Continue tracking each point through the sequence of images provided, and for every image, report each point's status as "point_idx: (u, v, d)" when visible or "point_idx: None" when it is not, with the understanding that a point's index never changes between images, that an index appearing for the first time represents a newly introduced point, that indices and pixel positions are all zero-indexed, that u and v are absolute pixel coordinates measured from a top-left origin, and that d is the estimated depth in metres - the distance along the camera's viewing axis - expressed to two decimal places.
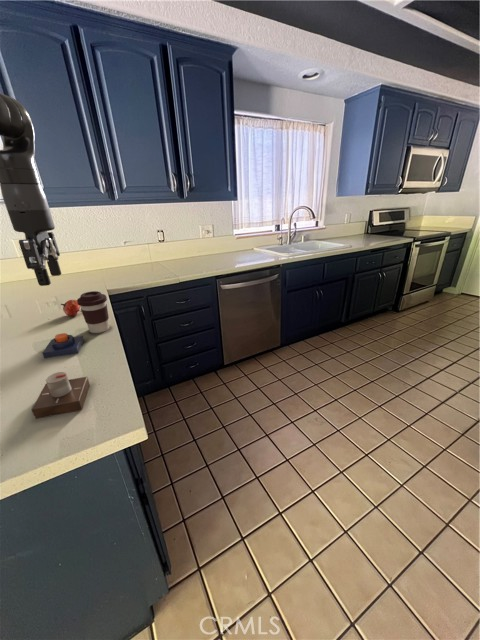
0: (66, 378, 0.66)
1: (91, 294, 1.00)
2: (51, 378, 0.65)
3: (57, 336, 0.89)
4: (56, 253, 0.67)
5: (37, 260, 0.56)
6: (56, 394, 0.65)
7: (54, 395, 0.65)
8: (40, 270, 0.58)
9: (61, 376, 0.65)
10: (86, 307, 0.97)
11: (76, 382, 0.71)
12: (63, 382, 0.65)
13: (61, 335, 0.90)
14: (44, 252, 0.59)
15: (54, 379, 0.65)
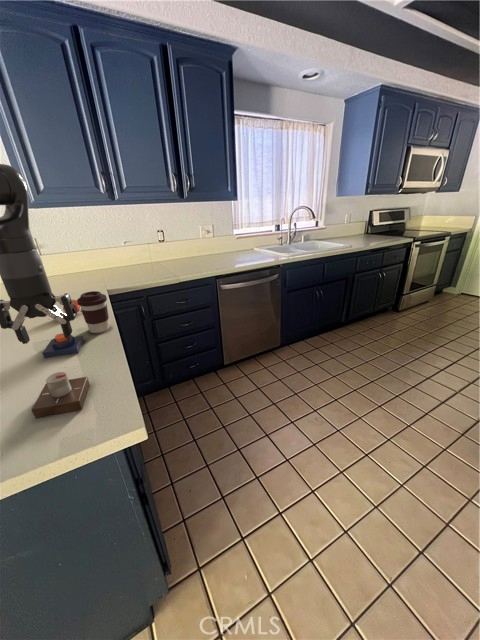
0: (66, 378, 0.66)
1: (91, 294, 1.00)
2: (51, 378, 0.65)
3: (57, 336, 0.89)
4: None
5: None
6: (56, 394, 0.65)
7: (54, 395, 0.65)
8: None
9: (61, 376, 0.65)
10: (86, 307, 0.97)
11: (76, 382, 0.71)
12: (63, 382, 0.65)
13: (61, 335, 0.90)
14: None
15: (54, 379, 0.65)
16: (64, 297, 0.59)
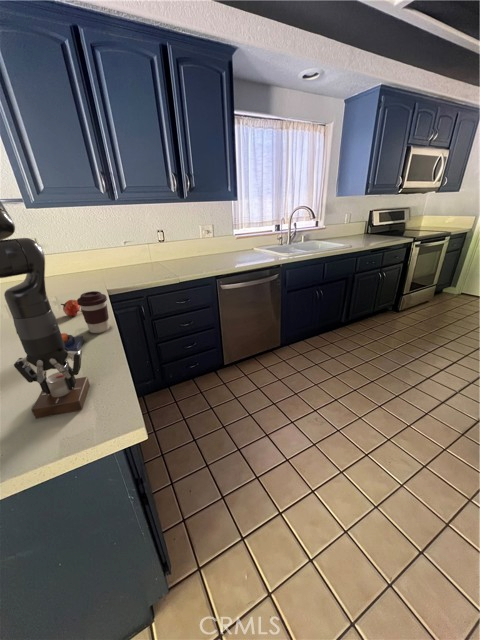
0: None
1: (91, 294, 1.00)
2: (51, 378, 0.65)
3: None
4: (73, 372, 0.65)
5: (25, 377, 0.62)
6: (56, 394, 0.65)
7: (54, 395, 0.65)
8: None
9: (61, 376, 0.65)
10: (86, 307, 0.97)
11: (76, 382, 0.71)
12: (63, 382, 0.65)
13: None
14: (37, 371, 0.62)
15: (54, 379, 0.65)
16: (77, 355, 0.64)
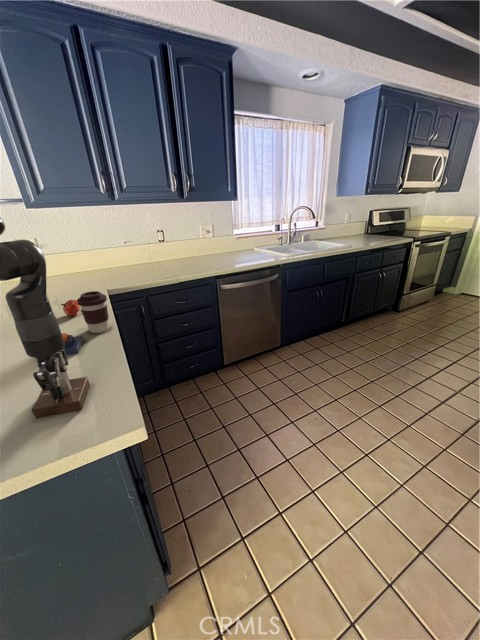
0: None
1: (91, 294, 1.00)
2: None
3: None
4: (65, 364, 0.69)
5: (52, 385, 0.60)
6: (69, 387, 0.67)
7: (69, 390, 0.67)
8: (54, 388, 0.63)
9: None
10: (86, 307, 0.97)
11: (76, 382, 0.71)
12: None
13: None
14: (56, 372, 0.62)
15: (61, 376, 0.66)
16: None
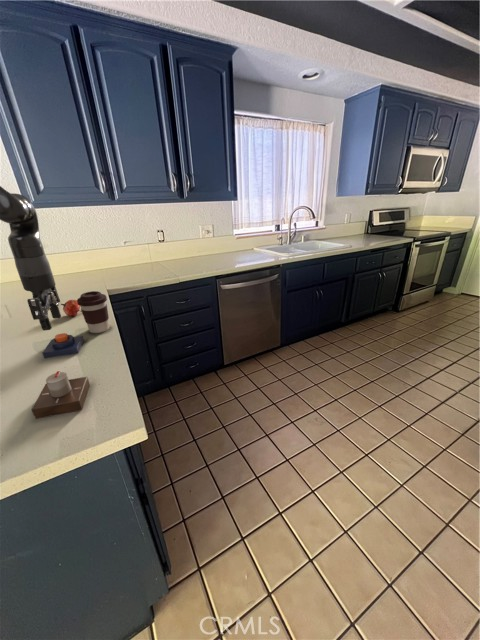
0: None
1: (91, 294, 1.00)
2: (56, 379, 0.65)
3: (57, 336, 0.89)
4: (57, 300, 0.84)
5: (41, 313, 0.73)
6: (69, 387, 0.67)
7: (69, 390, 0.67)
8: (43, 319, 0.75)
9: (58, 373, 0.67)
10: (86, 307, 0.97)
11: (76, 382, 0.71)
12: None
13: (61, 335, 0.90)
14: (47, 305, 0.76)
15: (61, 376, 0.66)
16: None
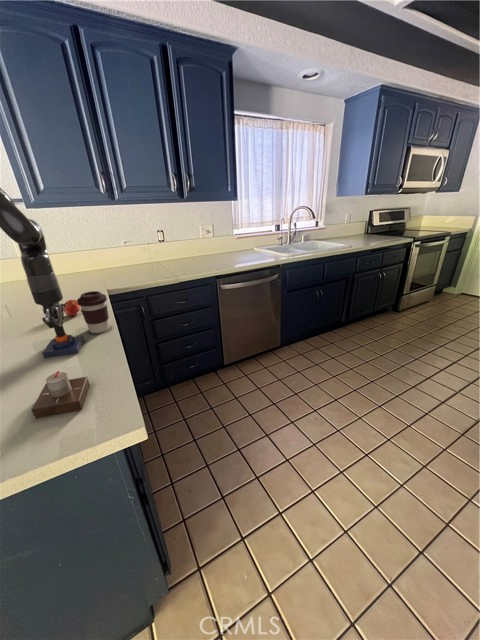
0: None
1: (91, 294, 1.00)
2: (56, 379, 0.65)
3: None
4: None
5: (56, 325, 0.84)
6: (69, 387, 0.67)
7: (69, 390, 0.67)
8: (58, 327, 0.87)
9: (58, 373, 0.67)
10: (86, 307, 0.97)
11: (76, 382, 0.71)
12: None
13: None
14: (58, 317, 0.86)
15: (61, 376, 0.66)
16: None
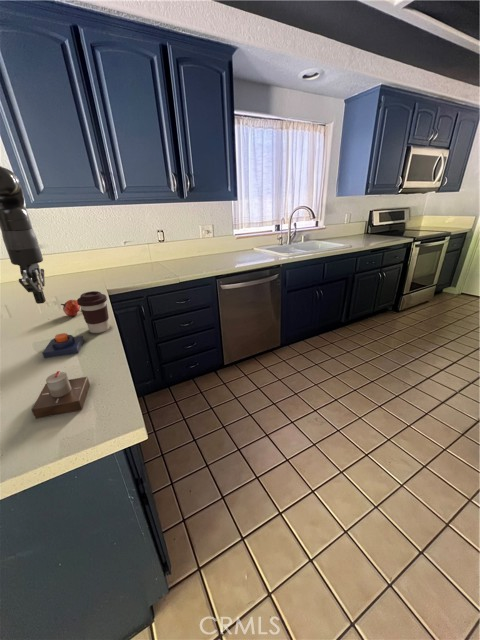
0: None
1: (91, 294, 1.00)
2: (56, 379, 0.65)
3: (57, 336, 0.89)
4: (41, 284, 0.83)
5: (35, 289, 0.78)
6: (69, 387, 0.67)
7: (69, 390, 0.67)
8: (37, 292, 0.80)
9: (58, 373, 0.67)
10: (86, 307, 0.97)
11: (76, 382, 0.71)
12: None
13: (61, 335, 0.90)
14: (37, 281, 0.79)
15: (61, 376, 0.66)
16: None
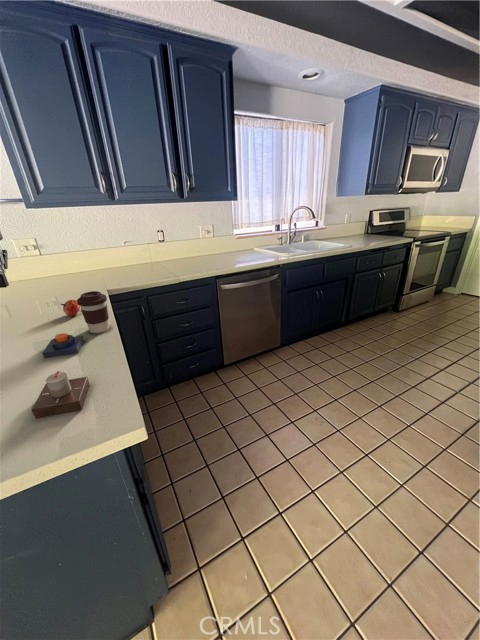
0: None
1: (91, 294, 1.00)
2: (56, 379, 0.65)
3: (57, 336, 0.89)
4: (3, 266, 0.75)
5: None
6: (69, 387, 0.67)
7: (69, 390, 0.67)
8: None
9: (58, 373, 0.67)
10: (86, 307, 0.97)
11: (76, 382, 0.71)
12: None
13: (61, 335, 0.90)
14: None
15: (61, 376, 0.66)
16: None
